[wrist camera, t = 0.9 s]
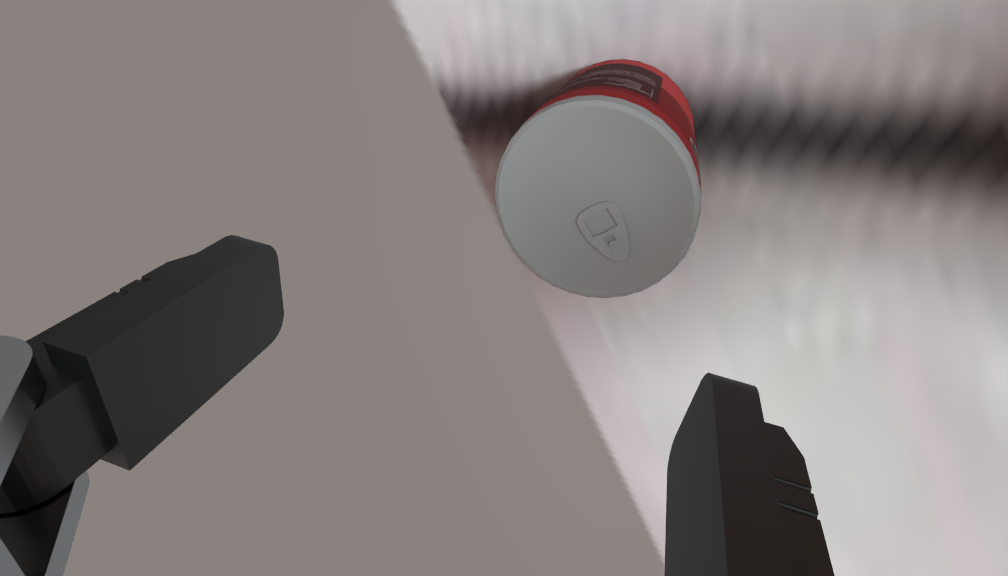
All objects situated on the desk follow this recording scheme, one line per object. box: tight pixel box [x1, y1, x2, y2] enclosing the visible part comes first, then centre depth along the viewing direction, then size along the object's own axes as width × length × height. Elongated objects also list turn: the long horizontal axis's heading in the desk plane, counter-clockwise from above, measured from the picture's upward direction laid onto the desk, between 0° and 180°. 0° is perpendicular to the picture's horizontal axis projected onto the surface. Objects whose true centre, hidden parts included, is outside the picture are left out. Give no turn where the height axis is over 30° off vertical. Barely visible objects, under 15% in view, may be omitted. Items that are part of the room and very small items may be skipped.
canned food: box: [495, 59, 701, 298], centre depth 24 cm, size 8×8×11 cm
